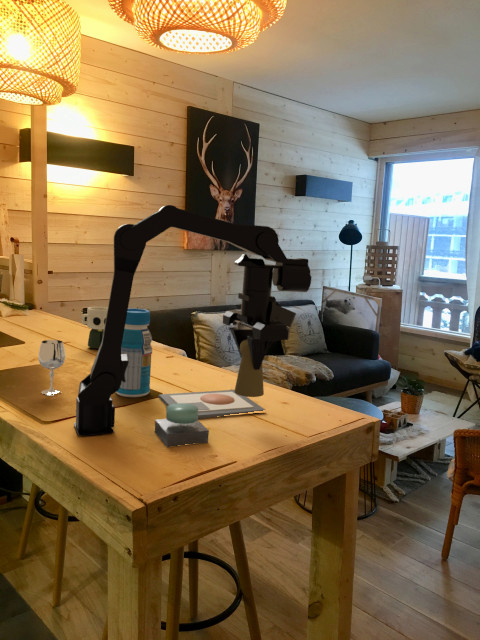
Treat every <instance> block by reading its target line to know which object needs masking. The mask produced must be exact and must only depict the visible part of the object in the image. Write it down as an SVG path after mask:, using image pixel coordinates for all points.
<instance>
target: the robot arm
mask: <svg viewBox="0 0 480 640" xmlns="http://www.w3.org/2000/svg"><path fill="white" fill-rule="evenodd" d="M170 228H174V229H178V230H182V231H186V232H189V233H192V234H197V235H199V236H200V235H201V236H205V237H209V238H211V239H216V240H219V241H223V242H226V243H228V244H231V245H232V246H234V247H236V248H238V249H240V250H243V251H244V252H247V253H249V254H251V255H255V256H259V257H261V258H257V257H256V258H255V257H250V256H248V255H247V253H243V254H241V256H240V257H239V258H238V259H237V260H235V261H234V262H233V264H234V265H235V266H238V267H243V268H244V269H243V280H242V293H240V292H238V295H237V297H238V299H241V306H240V307H241V308H240V310H226V311H225V312H224V313H223V314H222V324H223V325H225V326H230V327H228V331H230V333H231V335H232V338H233V340H234V343H235V346H236V347H237V351H238V353H239V356H240V358H241V357H242V355H241V353H240V344H241V342H242V341H243V340H248V345H249V349H250V354H251V359H252V364H253V368H254V369H255V370H259V369H260V367H261V364H262V365H263V361H264V359H265V356H266V354H267V352H268V350H269V348H270V347H271V345H272V344H274V342H275V343H276V342H278V341H288V340H290V333H291V332H290V331H291V330H290V328H291V327H292V324H293V323H294V321H295V318H296V315H297V313H296V312H294V311H293V310H292V311H291V310H289V309H287V308H285V307H283V306H282V303H281V302H278V301H277V299H276V297H275V296H273V295H272V286H274V287H276V289H277V290H278V291H279V292H293V293H296V292H297V293H307V292H308V291H309V290H310V288H311V284H312V275H311V268H310V265H309V259H308V258H305V257H304V258H303V257H297V258H287V256H286V254H285V253H284V251H283V250H282V248H281V246H280V244H279V241H280V240H279V235H278V234H277V232H276V230H275V229H274V228H272V227H271V226H268V225H255V224H243V223H242V224H241V223H233V222H230V221H229V222H228V221H226V220H221V219H219V218H215V217H211V216H207V215H204V214H201V213H200V214H199V213H196V212H193V211H189V210H186V209H182V208H179V207H177V206H176V205H172V204H167V205H163V206H162V207H160V208H159V210H157V211H156V212H154V213H152V214H150V215H149V216H147V217H145V218H144V219H142V220H140V221H139V222H137V223H135V224H133V223H125V224H122V225H120V226H119V227H118V228H117V229H116V230H115V231H114V234H113V276H112V281H111V288H110V293H109V298H108V305H107V308H108V310H107V316H106V322H105V327H104V333H103V339H102V343H101V345H100V348H98V350H97V353H96V356H95V358H94V360H93V364H92V366H91V368H90V373H89V374H88V375H87V376H85V378H83V379H82V380H81V381H80V382H79V387H78V391H77V392H78V393H77V396H76V399H75V400H76V402H75V403H76V404H75V405H76V406H75V422H73V426H74V429H75V432H76V433H77V436H79V437H87V436H89V437H90V436H97V435H98V436H99V435H109V434H111V435H112V434H114V429H113V428H115V420H116V419H115V417H116V416H115V415H116V406H115V405H114V404H113V399H112V395H114V394H116V391H118V390H119V388H120V386H121V383H122V381H123V382H126V381H125V371H126V368H127V366H128V362H129V361H128V355H127V354H121V345H122V340H123V334H124V328H125V323H126V317H127V311H128V309H129V306H130V305H129V304H130V300H131V294H132V287H133V281H134V277H135V274H136V271H137V269H138V267H139V264H140V262H141V259H142V257H143V254H144V251H145V248H146V247H147V243H148V242H150V241H152V240H154V239H155V238H156V237H158V236H159V235H161V234H162V233H163V232H165V231H167V230H168V229H170ZM264 260H265V261H270V262H273V263H274V262H275V264H266V263H265V261H264ZM231 324H232V327H231Z"/></svg>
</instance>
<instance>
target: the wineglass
mask: <svg viewBox="0 0 480 640" xmlns="http://www.w3.org/2000/svg"><path fill="white" fill-rule="evenodd" d="M65 360H66V351H65V345H64V342H63V340H60V339H59V340H58V339H46V340H41V343H40V346H39V350H38V363H39V364H40V366H41V367H43V368H45V369H47V370H50V371H49V373H48V374H49V379H50V387H49V388H48V389H44V390H42V391H41V393H42V394H41V393H40V394H41V395H43V394H45V395H44V396H55V395H54V394H57V393H59V392H60V391H61V390H60V391H59V389H56V390H55V388H54V386H53V383H54V382H53V381H54V376H55V371H54V370H56V369H58V368H60V367H62V366H63V365H64V364H65ZM52 394H53V395H52Z"/></svg>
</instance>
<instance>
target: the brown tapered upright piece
mask: <svg viewBox="0 0 480 640" xmlns="http://www.w3.org/2000/svg"><path fill="white" fill-rule="evenodd" d="M240 353H241V355H242V357H241V356H240V364H239V368H238V372H237V377H236V383H235V387H234V390H235V393H236V394H238V395H241V396H246V397H248V398H258V397H262V396H264V395H265V394H264V393H265V392H264V376H263V375H264V374H263V373H264V372H263V363H262V364H261V367H260V369H259V370H255V369H254V368H253V364H252V359H251V354H250V349H249V345H248V340H243V341H242V342H241V344H240Z"/></svg>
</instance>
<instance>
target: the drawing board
mask: <svg viewBox="0 0 480 640" xmlns="http://www.w3.org/2000/svg"><path fill="white" fill-rule="evenodd" d="M158 399H159V400H160V401H161V402H162V403H163V404H164V405H165V406H166V407H167V406H169V405H171V404H177V403H185V404H191V405H194V406H196V407H198V420H200V419H202V418H203V419H210V418H209V417H215V418H218V417H217V416H224V415H230V414H239V413H248V412H254V411H263V410H266V409H265V408H264V407H262V406H261V405H260V404H258V403H257V402H255V401H253V400H252V399H251V398H250V397H246V396H241V395H238V394H236V393H235V389H228V390H227V389H226V390H225V389H224V390H211V391H209V390H207V391H193V392H190V391H189V392H177V393H164V394H163V393H162V394H160V393H159V394H158Z"/></svg>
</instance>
